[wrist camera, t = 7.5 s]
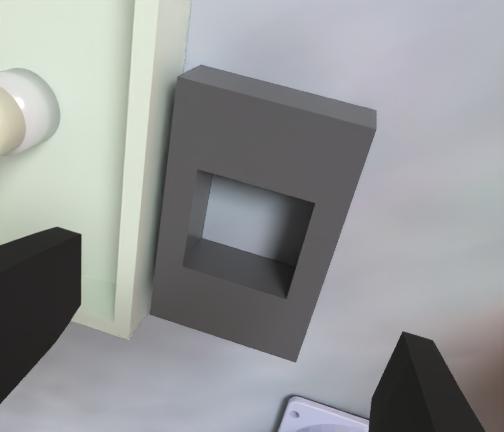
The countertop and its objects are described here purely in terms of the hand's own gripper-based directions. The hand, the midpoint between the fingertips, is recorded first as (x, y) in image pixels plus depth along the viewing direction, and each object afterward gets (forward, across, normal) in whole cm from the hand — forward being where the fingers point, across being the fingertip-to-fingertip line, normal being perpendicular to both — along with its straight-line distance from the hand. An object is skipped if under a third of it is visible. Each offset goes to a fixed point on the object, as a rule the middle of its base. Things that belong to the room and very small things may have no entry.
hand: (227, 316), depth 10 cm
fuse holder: (+10, +1, +3) cm, 11 cm away
